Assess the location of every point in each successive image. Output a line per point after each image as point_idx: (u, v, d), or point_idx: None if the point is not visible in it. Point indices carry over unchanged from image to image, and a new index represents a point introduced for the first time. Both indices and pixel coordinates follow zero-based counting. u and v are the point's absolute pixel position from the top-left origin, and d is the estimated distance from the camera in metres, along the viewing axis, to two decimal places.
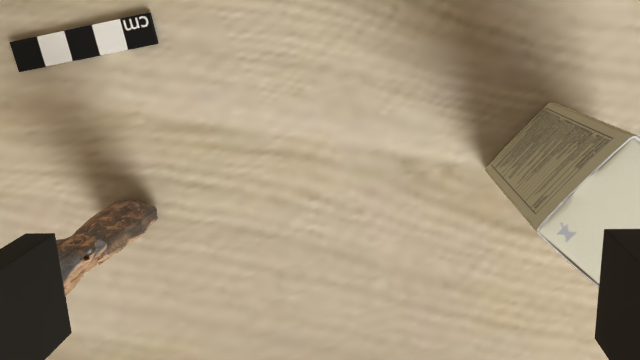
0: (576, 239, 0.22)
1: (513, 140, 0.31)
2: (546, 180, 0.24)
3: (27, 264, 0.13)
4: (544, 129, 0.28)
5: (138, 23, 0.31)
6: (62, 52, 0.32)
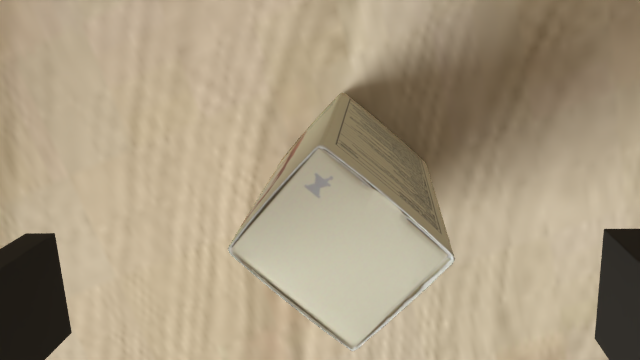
0: (309, 199, 0.16)
1: (381, 124, 0.25)
2: (370, 158, 0.18)
3: (27, 264, 0.13)
4: (406, 157, 0.23)
5: None
6: None
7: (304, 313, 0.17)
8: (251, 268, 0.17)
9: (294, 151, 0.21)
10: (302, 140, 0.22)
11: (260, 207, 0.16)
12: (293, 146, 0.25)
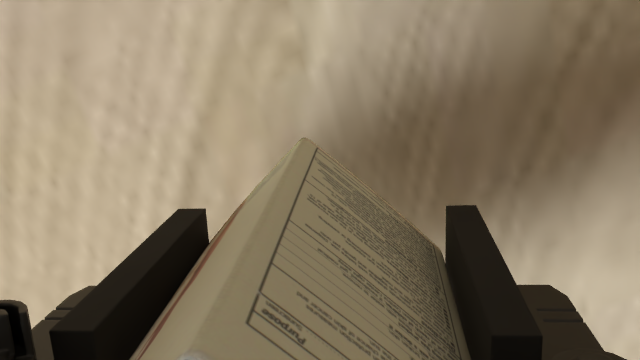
0: None
1: (368, 189, 0.15)
2: (338, 317, 0.08)
3: (192, 234, 0.15)
4: (411, 258, 0.13)
5: None
6: None
7: None
8: None
9: (206, 259, 0.12)
10: (224, 234, 0.12)
11: None
12: (224, 226, 0.15)
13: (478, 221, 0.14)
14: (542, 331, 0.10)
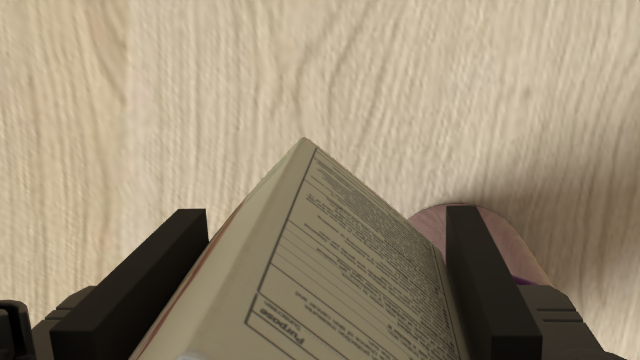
0: None
1: (367, 189, 0.15)
2: (337, 317, 0.08)
3: (192, 234, 0.15)
4: (410, 257, 0.13)
5: None
6: None
7: None
8: None
9: (205, 259, 0.12)
10: (223, 234, 0.12)
11: None
12: (223, 226, 0.15)
13: (478, 221, 0.14)
14: (542, 331, 0.10)
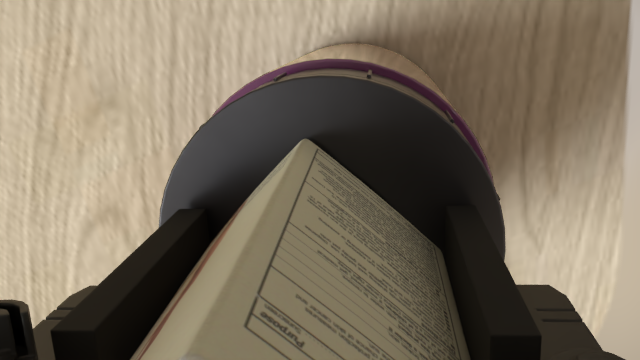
0: None
1: (368, 191, 0.15)
2: (337, 320, 0.08)
3: (193, 234, 0.15)
4: (412, 259, 0.13)
5: None
6: None
7: None
8: None
9: (206, 261, 0.12)
10: (224, 236, 0.12)
11: None
12: (224, 227, 0.15)
13: (477, 221, 0.14)
14: (541, 331, 0.10)
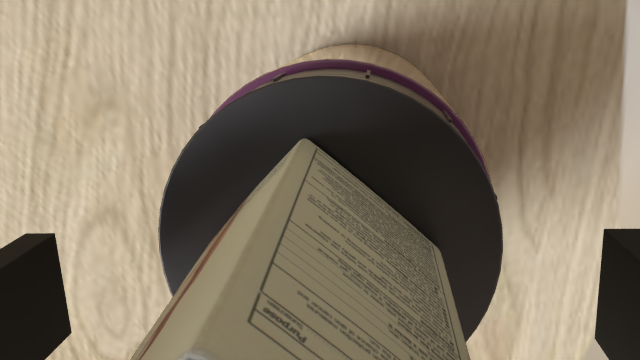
0: None
1: (367, 190, 0.15)
2: (339, 316, 0.08)
3: (27, 264, 0.13)
4: (410, 258, 0.13)
5: None
6: None
7: None
8: None
9: (207, 259, 0.12)
10: (225, 234, 0.12)
11: None
12: (224, 226, 0.15)
13: None
14: None
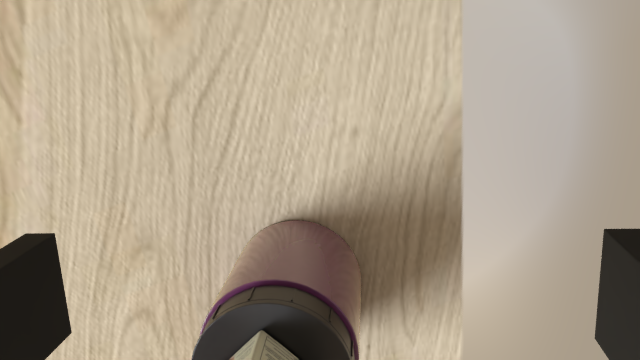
0: None
1: (290, 355, 0.33)
2: None
3: (27, 264, 0.13)
4: None
5: None
6: None
7: None
8: None
9: None
10: None
11: None
12: None
13: None
14: None
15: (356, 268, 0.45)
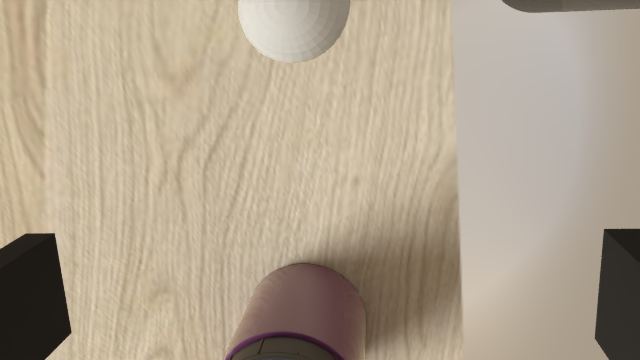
0: None
1: None
2: None
3: (27, 264, 0.13)
4: None
5: None
6: None
7: None
8: None
9: None
10: None
11: None
12: None
13: None
14: None
15: (361, 309, 0.47)
